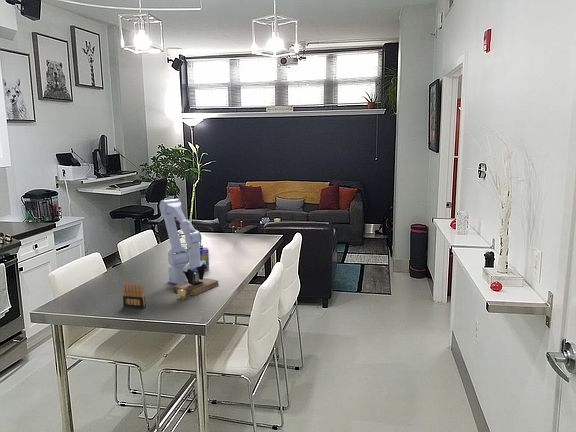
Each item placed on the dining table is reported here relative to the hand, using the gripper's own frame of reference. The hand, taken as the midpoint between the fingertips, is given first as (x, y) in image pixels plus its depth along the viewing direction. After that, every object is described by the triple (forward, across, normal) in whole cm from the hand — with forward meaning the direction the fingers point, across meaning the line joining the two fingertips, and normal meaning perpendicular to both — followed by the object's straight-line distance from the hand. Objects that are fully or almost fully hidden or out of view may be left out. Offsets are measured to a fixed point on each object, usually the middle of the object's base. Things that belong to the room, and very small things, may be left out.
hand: (195, 281), depth 235 cm
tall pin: (+3, 0, 0) cm, 3 cm away
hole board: (+3, 0, 0) cm, 3 cm away
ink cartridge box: (+4, +26, +21) cm, 34 cm away
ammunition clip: (+4, -33, +7) cm, 34 cm away
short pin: (+3, -15, -5) cm, 16 cm away
